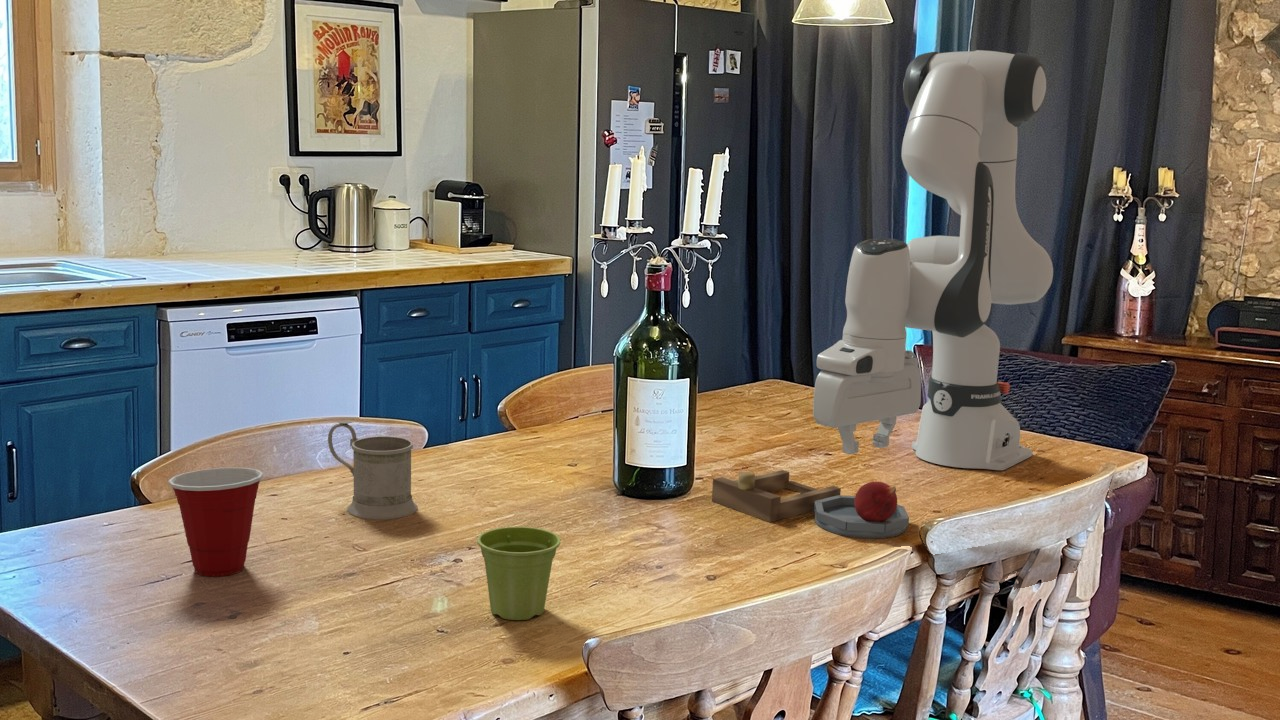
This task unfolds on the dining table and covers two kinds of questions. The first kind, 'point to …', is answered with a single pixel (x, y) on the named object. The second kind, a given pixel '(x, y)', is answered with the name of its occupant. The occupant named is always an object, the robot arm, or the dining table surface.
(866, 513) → the onion
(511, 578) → the plant pot
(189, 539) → the plastic cup
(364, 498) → the mug
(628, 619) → the dining table surface
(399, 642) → the dining table surface
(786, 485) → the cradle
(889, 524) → the saucer
